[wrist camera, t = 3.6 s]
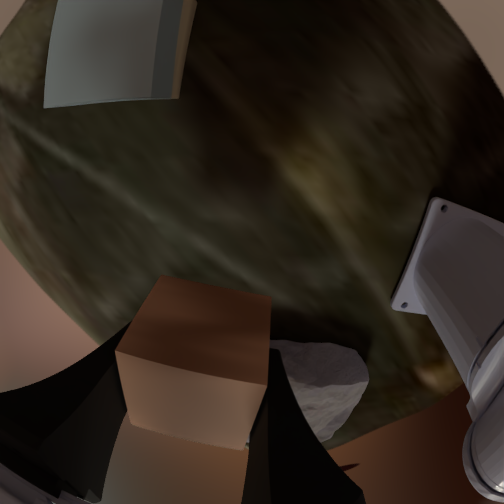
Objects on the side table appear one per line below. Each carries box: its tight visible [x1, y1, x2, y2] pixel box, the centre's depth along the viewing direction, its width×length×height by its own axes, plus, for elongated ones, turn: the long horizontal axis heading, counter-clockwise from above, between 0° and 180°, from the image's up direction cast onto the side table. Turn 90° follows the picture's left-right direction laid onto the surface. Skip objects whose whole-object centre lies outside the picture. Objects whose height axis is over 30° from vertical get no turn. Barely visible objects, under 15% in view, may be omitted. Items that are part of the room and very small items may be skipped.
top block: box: [44, 0, 183, 108], centre depth 10 cm, size 6×6×2 cm
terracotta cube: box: [115, 275, 271, 450], centre depth 11 cm, size 4×4×4 cm
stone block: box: [246, 340, 369, 443], centre depth 22 cm, size 12×5×10 cm
